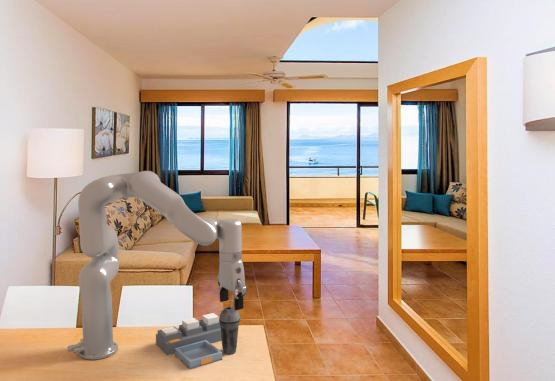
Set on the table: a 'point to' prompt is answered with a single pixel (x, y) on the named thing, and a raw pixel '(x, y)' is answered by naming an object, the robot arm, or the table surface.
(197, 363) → the tray
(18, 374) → the table surface
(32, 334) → the table surface
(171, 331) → the block
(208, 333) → the grey switch block
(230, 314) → the beverage cup
